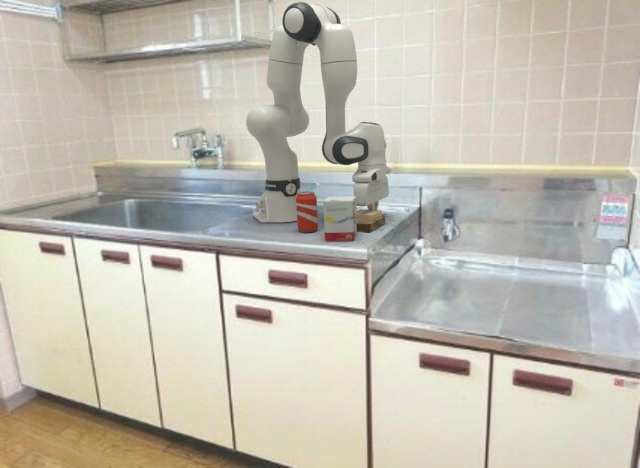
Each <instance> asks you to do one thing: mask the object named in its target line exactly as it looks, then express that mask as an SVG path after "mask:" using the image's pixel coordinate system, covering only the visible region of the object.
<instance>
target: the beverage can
mask: <svg viewBox="0 0 640 468" xmlns="http://www.w3.org/2000/svg"><path fill="white" fill-rule="evenodd" d="M297 194H298V195H297V197H296V209H297V221H296V223H297V230H298V231H300V232H301V233H314V232H316V231H317V230H318V229H319V218H318V217H319V216H318V201H317V199H318V198H317V195H316V194H315V192H314V191H309V190H307V191H302V192H299V193H297Z"/></svg>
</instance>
